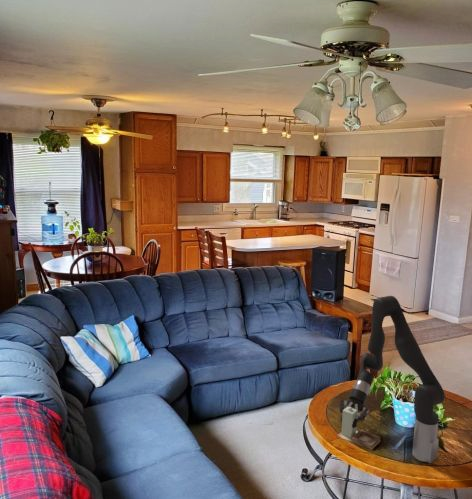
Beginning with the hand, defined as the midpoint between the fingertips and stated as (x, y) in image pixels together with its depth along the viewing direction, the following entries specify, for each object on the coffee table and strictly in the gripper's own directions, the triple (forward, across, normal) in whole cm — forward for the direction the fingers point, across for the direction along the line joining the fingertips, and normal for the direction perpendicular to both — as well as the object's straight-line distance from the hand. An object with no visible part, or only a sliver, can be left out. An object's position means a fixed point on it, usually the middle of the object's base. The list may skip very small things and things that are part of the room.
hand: (347, 425), depth 210 cm
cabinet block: (+2, 0, +5) cm, 6 cm away
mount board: (+3, +5, +6) cm, 8 cm away
